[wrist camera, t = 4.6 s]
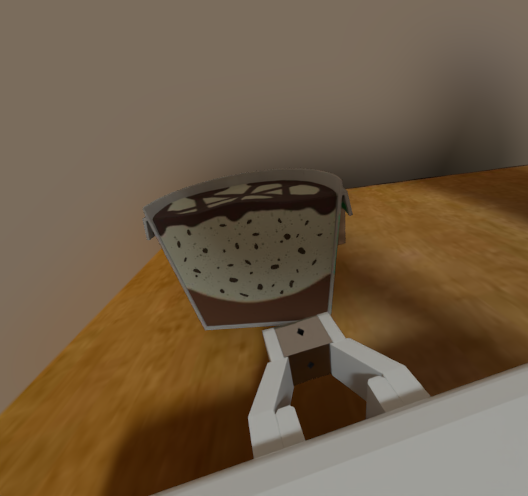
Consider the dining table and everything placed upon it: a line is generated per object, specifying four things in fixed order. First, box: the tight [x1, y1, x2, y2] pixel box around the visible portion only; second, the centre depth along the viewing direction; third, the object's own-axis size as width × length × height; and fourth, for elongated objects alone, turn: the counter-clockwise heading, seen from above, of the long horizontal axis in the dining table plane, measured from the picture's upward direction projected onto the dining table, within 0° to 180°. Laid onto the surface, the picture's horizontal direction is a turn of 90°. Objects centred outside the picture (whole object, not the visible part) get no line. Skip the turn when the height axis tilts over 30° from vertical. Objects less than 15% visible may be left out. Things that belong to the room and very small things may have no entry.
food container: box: [143, 168, 353, 330], centre depth 19 cm, size 12×6×10 cm, turn 86°
